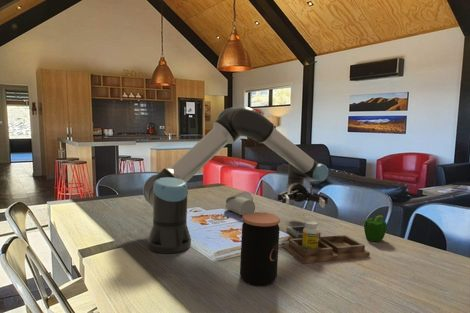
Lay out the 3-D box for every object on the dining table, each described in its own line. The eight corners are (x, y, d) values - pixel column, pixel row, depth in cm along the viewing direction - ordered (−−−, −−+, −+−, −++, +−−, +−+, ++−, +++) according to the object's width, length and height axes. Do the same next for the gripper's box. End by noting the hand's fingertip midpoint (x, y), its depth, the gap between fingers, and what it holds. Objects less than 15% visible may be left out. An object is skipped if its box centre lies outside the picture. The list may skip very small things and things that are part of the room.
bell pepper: (363, 241, 128) (365, 216, 127) (362, 234, 136) (364, 211, 135) (386, 244, 125) (388, 219, 124) (384, 238, 133) (386, 214, 132)
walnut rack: (303, 263, 105) (303, 253, 105) (283, 247, 118) (284, 237, 118) (369, 256, 113) (370, 247, 113) (344, 242, 126) (345, 233, 126)
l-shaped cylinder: (215, 206, 168) (236, 216, 151) (220, 186, 168) (241, 194, 151) (242, 209, 177) (265, 219, 161) (247, 191, 178) (270, 199, 161)
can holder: (297, 239, 127) (298, 234, 127) (286, 231, 136) (286, 226, 136) (320, 238, 130) (320, 233, 130) (307, 229, 139) (307, 225, 139)
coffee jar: (275, 289, 88) (278, 225, 86) (236, 284, 90) (239, 220, 88) (277, 272, 98) (281, 214, 96) (243, 267, 100) (245, 210, 98)
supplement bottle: (313, 245, 117) (315, 219, 116) (320, 251, 112) (322, 224, 111) (299, 246, 115) (301, 220, 114) (306, 252, 110) (307, 225, 109)
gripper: (325, 202, 146) (337, 215, 125) (269, 198, 147) (272, 210, 126) (326, 185, 145) (339, 195, 124) (270, 182, 146) (273, 191, 125)
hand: (305, 203), depth 125 cm, fingers open, 13 cm apart
